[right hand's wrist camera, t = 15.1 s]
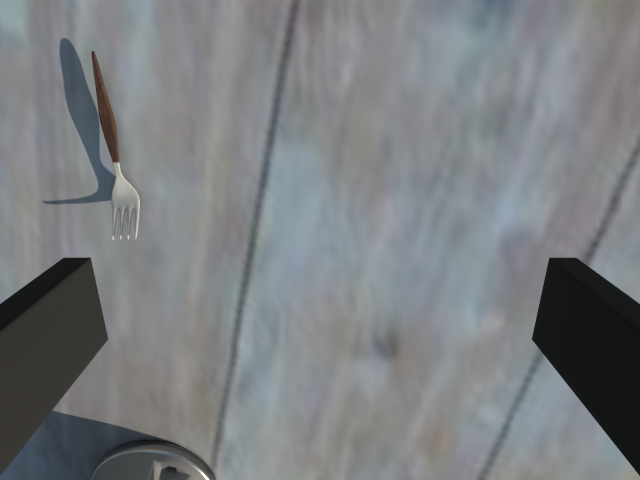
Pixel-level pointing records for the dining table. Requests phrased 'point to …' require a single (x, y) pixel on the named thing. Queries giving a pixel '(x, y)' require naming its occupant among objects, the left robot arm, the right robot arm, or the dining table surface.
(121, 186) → the fork
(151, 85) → the dining table surface
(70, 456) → the dining table surface
